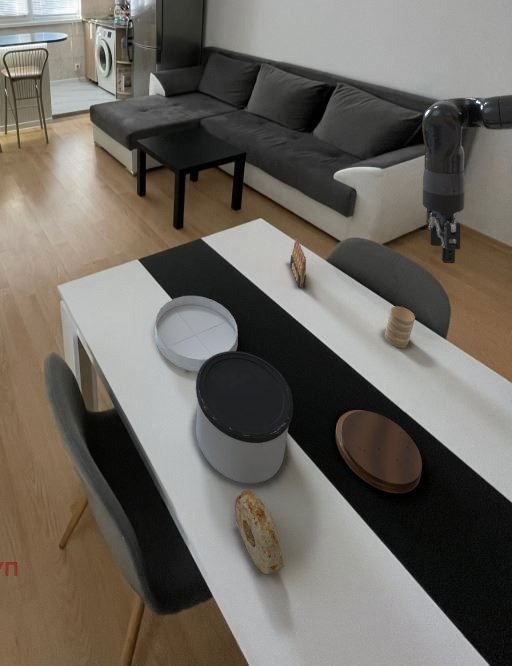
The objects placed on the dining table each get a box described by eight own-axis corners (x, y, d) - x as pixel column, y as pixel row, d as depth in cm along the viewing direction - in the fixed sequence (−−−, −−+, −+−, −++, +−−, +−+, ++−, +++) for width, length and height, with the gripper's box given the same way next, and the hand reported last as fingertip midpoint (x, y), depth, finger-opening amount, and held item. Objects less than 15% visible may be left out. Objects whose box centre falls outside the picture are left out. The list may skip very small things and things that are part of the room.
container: (191, 394, 102) (192, 348, 96) (273, 399, 100) (279, 352, 94) (198, 484, 84) (200, 434, 79) (297, 492, 82) (306, 441, 77)
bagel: (228, 518, 79) (231, 484, 75) (245, 509, 80) (249, 476, 76) (264, 590, 70) (269, 556, 66) (283, 580, 71) (289, 546, 67)
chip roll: (407, 338, 113) (414, 310, 110) (407, 353, 109) (415, 324, 106) (384, 330, 116) (391, 303, 112) (383, 344, 112) (390, 316, 108)
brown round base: (418, 440, 90) (422, 429, 88) (421, 514, 78) (425, 502, 77) (338, 405, 97) (341, 395, 96) (330, 468, 86) (332, 456, 84)
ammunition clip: (289, 266, 141) (293, 236, 137) (295, 267, 141) (299, 236, 137) (297, 289, 132) (302, 258, 127) (304, 290, 131) (308, 258, 127)
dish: (183, 388, 103) (183, 374, 101) (140, 324, 122) (140, 311, 120) (255, 353, 111) (256, 339, 109) (205, 298, 130) (205, 285, 128)
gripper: (476, 199, 89) (474, 270, 92) (452, 177, 102) (450, 240, 105) (433, 199, 92) (431, 267, 95) (414, 178, 105) (414, 239, 108)
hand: (441, 253), depth 100 cm, fingers open, 8 cm apart
